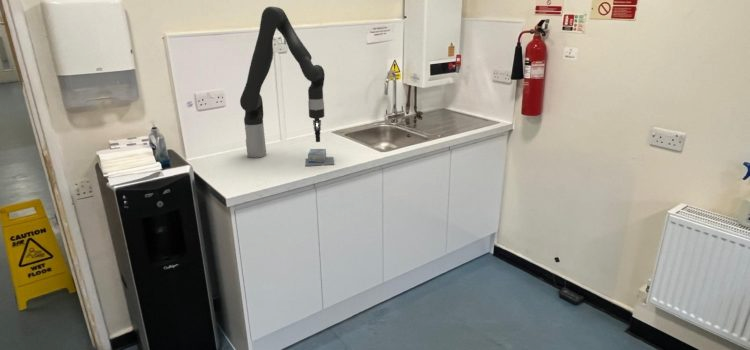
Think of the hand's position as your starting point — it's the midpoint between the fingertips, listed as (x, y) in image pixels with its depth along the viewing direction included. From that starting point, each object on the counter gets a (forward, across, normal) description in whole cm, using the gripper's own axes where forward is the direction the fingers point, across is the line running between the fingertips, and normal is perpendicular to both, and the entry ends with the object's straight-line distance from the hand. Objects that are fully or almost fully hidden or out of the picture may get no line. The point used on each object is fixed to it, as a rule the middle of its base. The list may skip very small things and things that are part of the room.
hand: (318, 141), depth 231 cm
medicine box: (+6, -2, 0) cm, 7 cm away
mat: (+9, +5, 0) cm, 10 cm away
